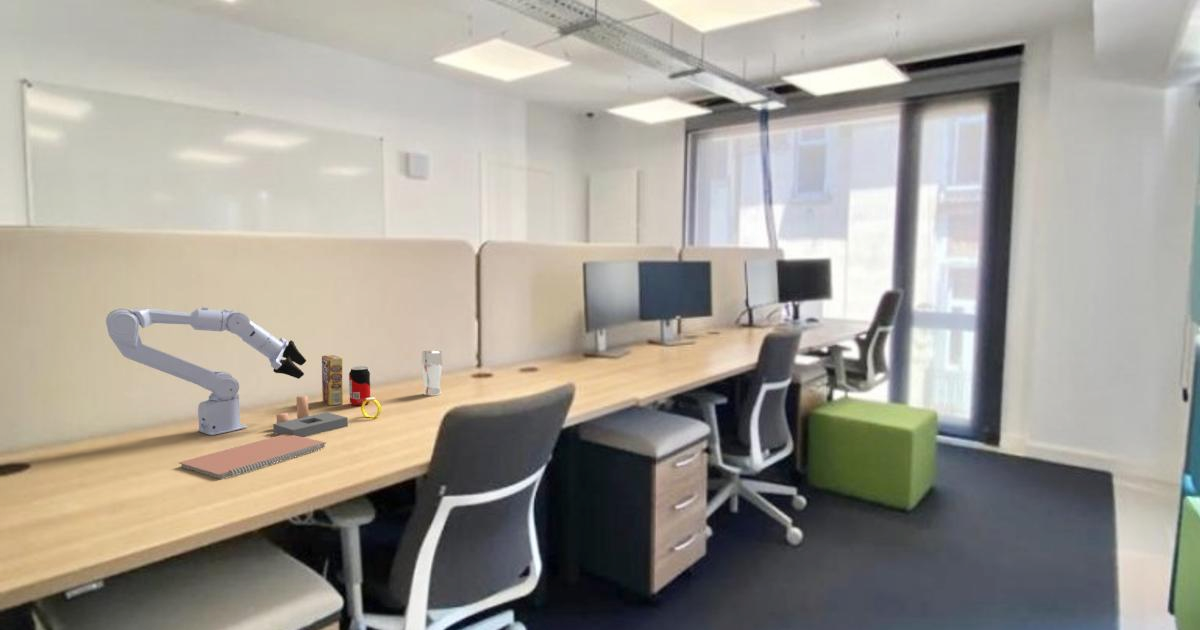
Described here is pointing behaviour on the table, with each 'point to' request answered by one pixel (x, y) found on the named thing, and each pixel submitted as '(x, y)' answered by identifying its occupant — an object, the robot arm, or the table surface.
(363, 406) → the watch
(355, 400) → the beverage can
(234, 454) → the notebook
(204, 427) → the robot arm
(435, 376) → the beer glass
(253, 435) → the table surface
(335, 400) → the candy box
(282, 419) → the short pin
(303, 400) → the long pin
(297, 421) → the hole board
